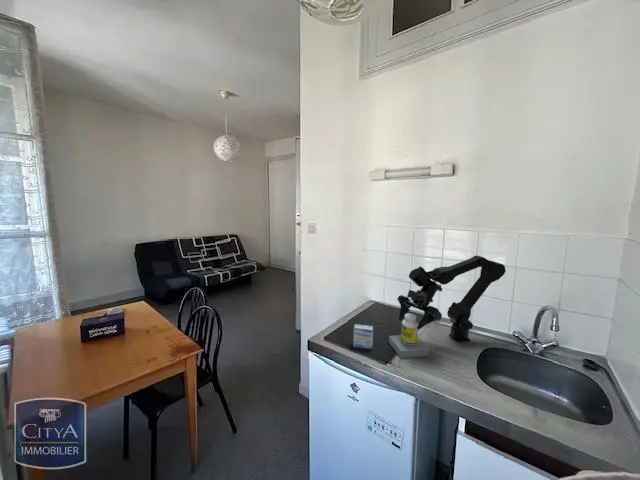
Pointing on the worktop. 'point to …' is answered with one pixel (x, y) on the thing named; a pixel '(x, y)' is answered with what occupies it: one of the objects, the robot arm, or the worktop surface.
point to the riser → (408, 347)
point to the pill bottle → (409, 329)
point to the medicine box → (363, 336)
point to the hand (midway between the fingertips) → (408, 324)
